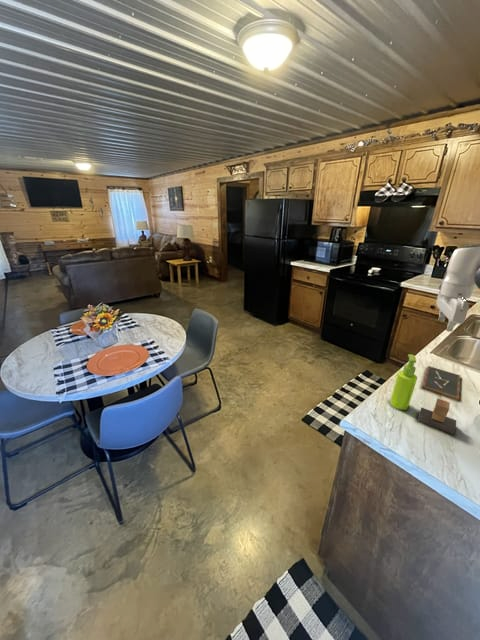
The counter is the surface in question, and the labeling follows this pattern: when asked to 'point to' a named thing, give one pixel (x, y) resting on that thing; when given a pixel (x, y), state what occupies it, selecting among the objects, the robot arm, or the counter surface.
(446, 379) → the chalkboard
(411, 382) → the soap dispenser
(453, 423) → the eraser
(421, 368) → the counter surface
